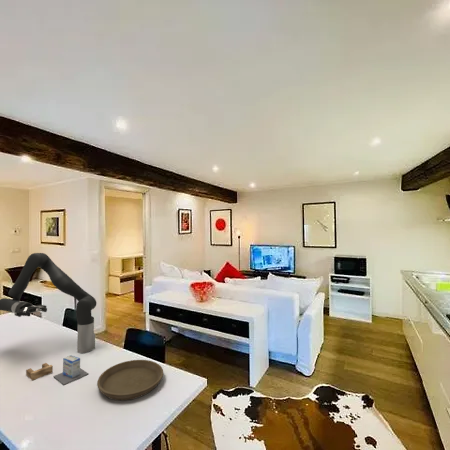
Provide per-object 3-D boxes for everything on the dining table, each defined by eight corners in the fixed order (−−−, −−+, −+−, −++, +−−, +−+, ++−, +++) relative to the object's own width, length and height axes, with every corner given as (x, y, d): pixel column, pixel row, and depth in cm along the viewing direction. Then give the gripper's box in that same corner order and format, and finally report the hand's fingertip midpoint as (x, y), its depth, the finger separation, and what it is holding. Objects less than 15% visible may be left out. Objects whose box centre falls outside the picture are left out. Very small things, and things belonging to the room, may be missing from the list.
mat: (77, 367, 144) (77, 366, 144) (88, 374, 137) (88, 373, 137) (53, 377, 134) (53, 376, 134) (63, 385, 127) (63, 384, 127)
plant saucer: (175, 377, 135) (175, 369, 135) (126, 413, 108) (126, 402, 109) (135, 362, 151) (135, 354, 151) (83, 390, 124) (83, 380, 124)
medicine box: (62, 374, 136) (62, 358, 136) (70, 370, 140) (70, 354, 140) (72, 378, 132) (72, 361, 132) (80, 374, 136) (80, 357, 136)
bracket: (46, 367, 144) (46, 361, 144) (52, 372, 139) (52, 365, 139) (26, 374, 136) (26, 368, 136) (32, 380, 131) (32, 373, 131)
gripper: (8, 305, 147) (24, 308, 140) (35, 299, 160) (51, 302, 153) (7, 318, 147) (23, 322, 140) (35, 311, 160) (51, 315, 152)
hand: (38, 312), depth 146 cm, fingers open, 8 cm apart
